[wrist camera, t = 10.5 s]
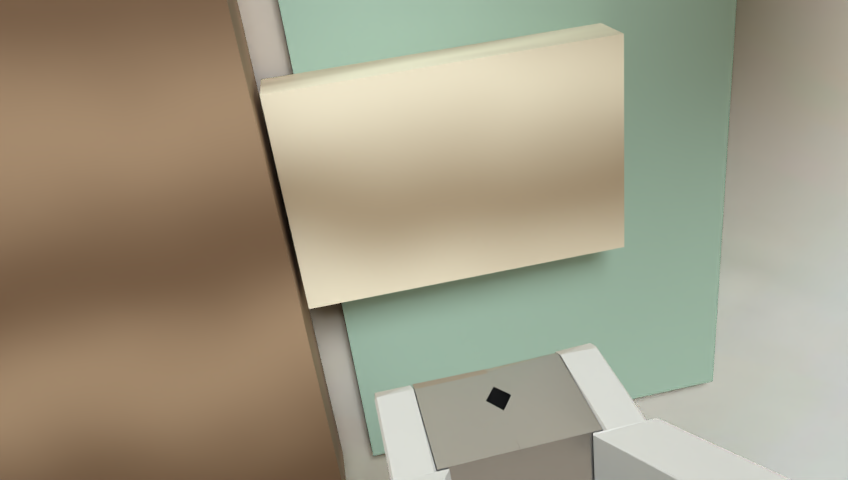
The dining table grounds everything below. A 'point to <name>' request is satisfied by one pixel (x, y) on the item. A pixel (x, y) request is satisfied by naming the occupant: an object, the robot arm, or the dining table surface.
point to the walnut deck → (148, 255)
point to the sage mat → (582, 275)
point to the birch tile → (451, 161)
